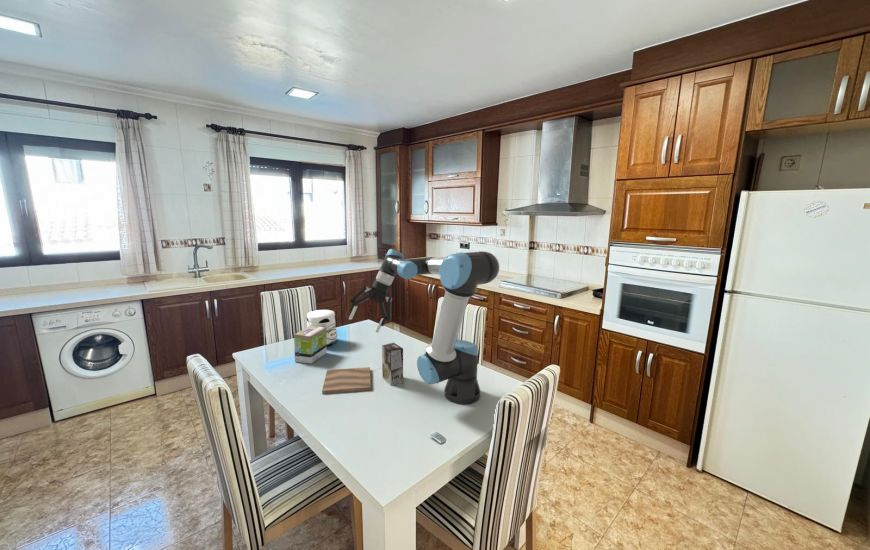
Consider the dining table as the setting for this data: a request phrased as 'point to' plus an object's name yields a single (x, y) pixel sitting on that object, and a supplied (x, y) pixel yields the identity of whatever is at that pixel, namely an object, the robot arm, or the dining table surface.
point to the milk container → (324, 323)
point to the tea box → (310, 344)
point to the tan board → (347, 380)
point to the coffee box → (392, 363)
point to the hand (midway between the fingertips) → (363, 325)
